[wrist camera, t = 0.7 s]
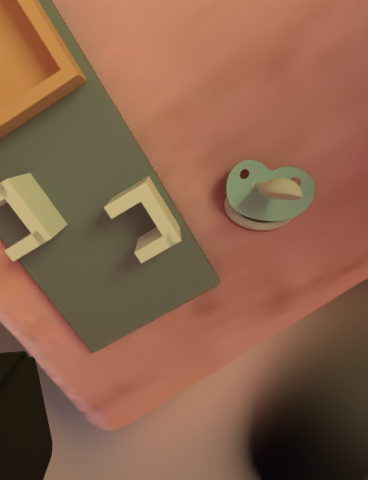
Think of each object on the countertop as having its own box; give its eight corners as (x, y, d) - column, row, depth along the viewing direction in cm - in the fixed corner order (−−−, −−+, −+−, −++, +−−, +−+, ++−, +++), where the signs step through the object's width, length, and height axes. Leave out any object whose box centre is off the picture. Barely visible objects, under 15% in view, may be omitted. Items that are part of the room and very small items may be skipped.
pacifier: (291, 233, 31) (309, 168, 29) (319, 259, 25) (345, 179, 23) (213, 221, 30) (227, 154, 28) (224, 246, 24) (242, 162, 22)
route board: (-16, -112, 22) (-69, -183, 17) (218, 277, 31) (228, 304, 26) (-172, 8, 24) (-262, -26, 19) (95, 345, 33) (82, 382, 28)
